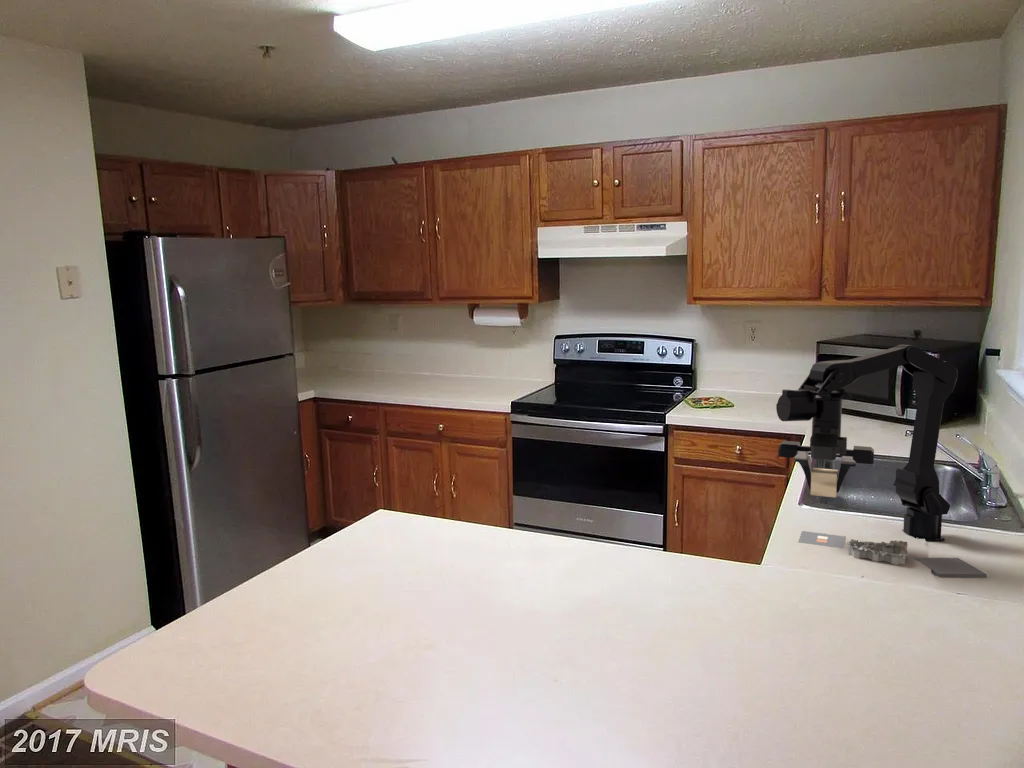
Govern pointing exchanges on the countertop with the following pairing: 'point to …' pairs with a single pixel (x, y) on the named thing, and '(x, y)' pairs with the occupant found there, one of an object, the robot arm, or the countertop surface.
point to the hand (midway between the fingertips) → (824, 490)
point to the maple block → (824, 482)
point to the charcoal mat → (951, 567)
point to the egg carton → (879, 551)
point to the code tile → (822, 539)
